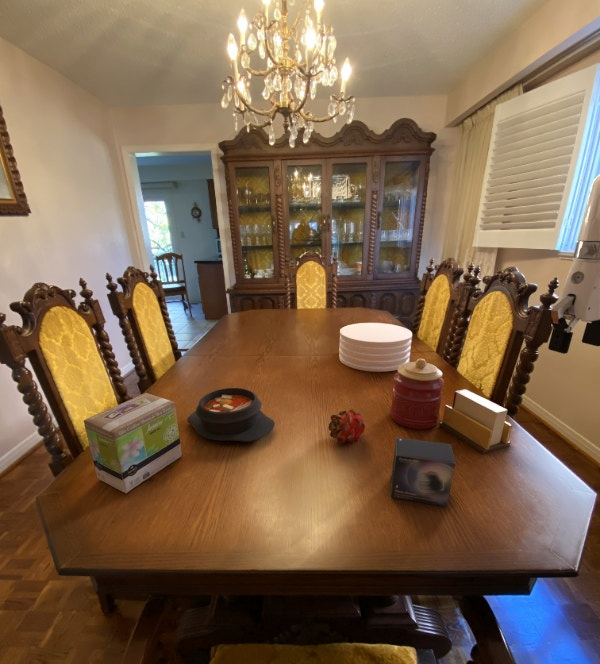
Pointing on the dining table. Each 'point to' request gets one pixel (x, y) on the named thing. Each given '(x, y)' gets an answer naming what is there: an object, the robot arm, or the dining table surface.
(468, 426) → the rack
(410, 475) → the small box
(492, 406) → the book
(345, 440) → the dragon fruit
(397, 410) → the kitchen canister
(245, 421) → the casserole
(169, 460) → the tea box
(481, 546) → the dining table surface
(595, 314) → the robot arm
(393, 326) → the plate stack
